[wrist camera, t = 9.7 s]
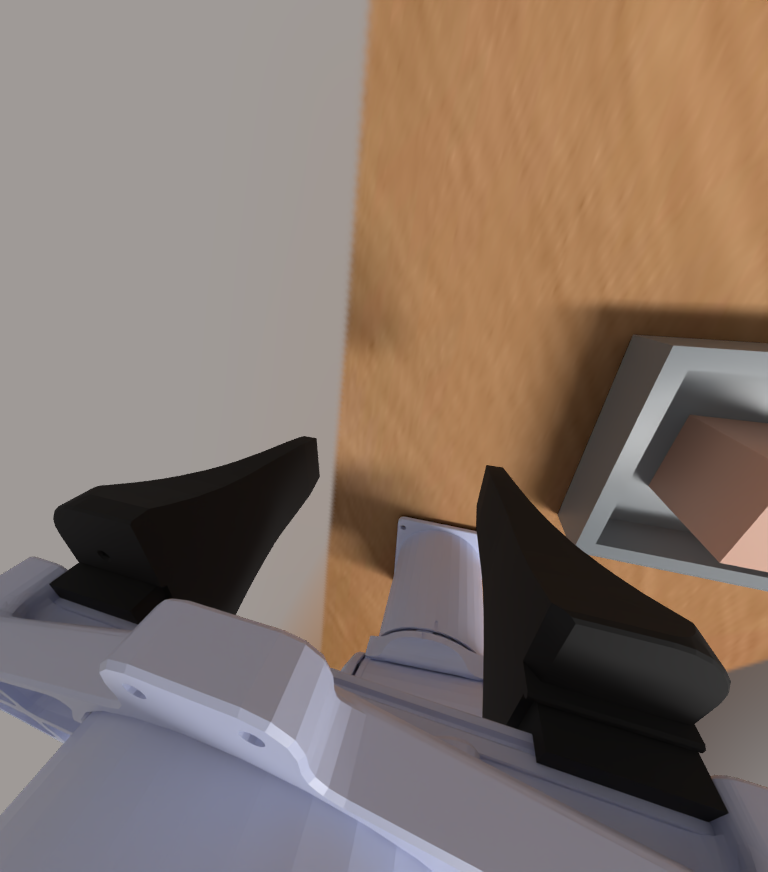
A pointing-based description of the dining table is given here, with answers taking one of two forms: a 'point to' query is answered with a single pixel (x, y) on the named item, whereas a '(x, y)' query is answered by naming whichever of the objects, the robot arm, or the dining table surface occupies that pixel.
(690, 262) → the dining table surface
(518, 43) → the dining table surface
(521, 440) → the dining table surface
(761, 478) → the block
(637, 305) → the dining table surface
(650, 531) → the bin
